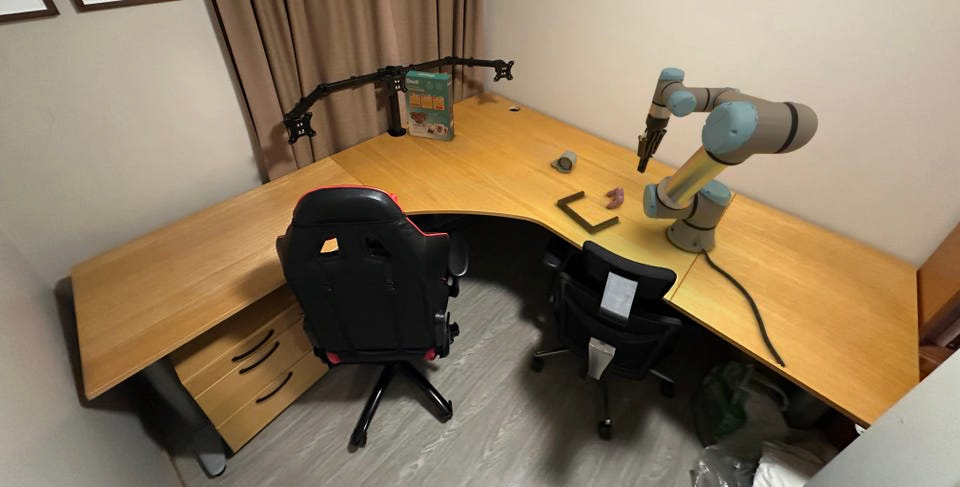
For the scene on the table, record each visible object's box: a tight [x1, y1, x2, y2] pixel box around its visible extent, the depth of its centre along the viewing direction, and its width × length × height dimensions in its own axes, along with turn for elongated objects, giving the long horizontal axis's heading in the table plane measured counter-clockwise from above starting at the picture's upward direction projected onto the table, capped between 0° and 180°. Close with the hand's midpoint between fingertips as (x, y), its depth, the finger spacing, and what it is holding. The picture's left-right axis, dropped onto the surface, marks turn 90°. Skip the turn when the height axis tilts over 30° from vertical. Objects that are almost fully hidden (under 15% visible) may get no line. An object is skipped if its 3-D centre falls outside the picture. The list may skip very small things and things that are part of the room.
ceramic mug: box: [551, 150, 578, 173], centre depth 177 cm, size 11×8×8 cm
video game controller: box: [606, 187, 625, 209], centre depth 158 cm, size 10×5×7 cm, turn 168°
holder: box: [556, 190, 620, 235], centre depth 154 cm, size 20×13×2 cm, turn 31°
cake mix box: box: [404, 70, 455, 142], centre depth 192 cm, size 22×6×30 cm, turn 74°
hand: (640, 171), depth 157 cm, fingers closed
